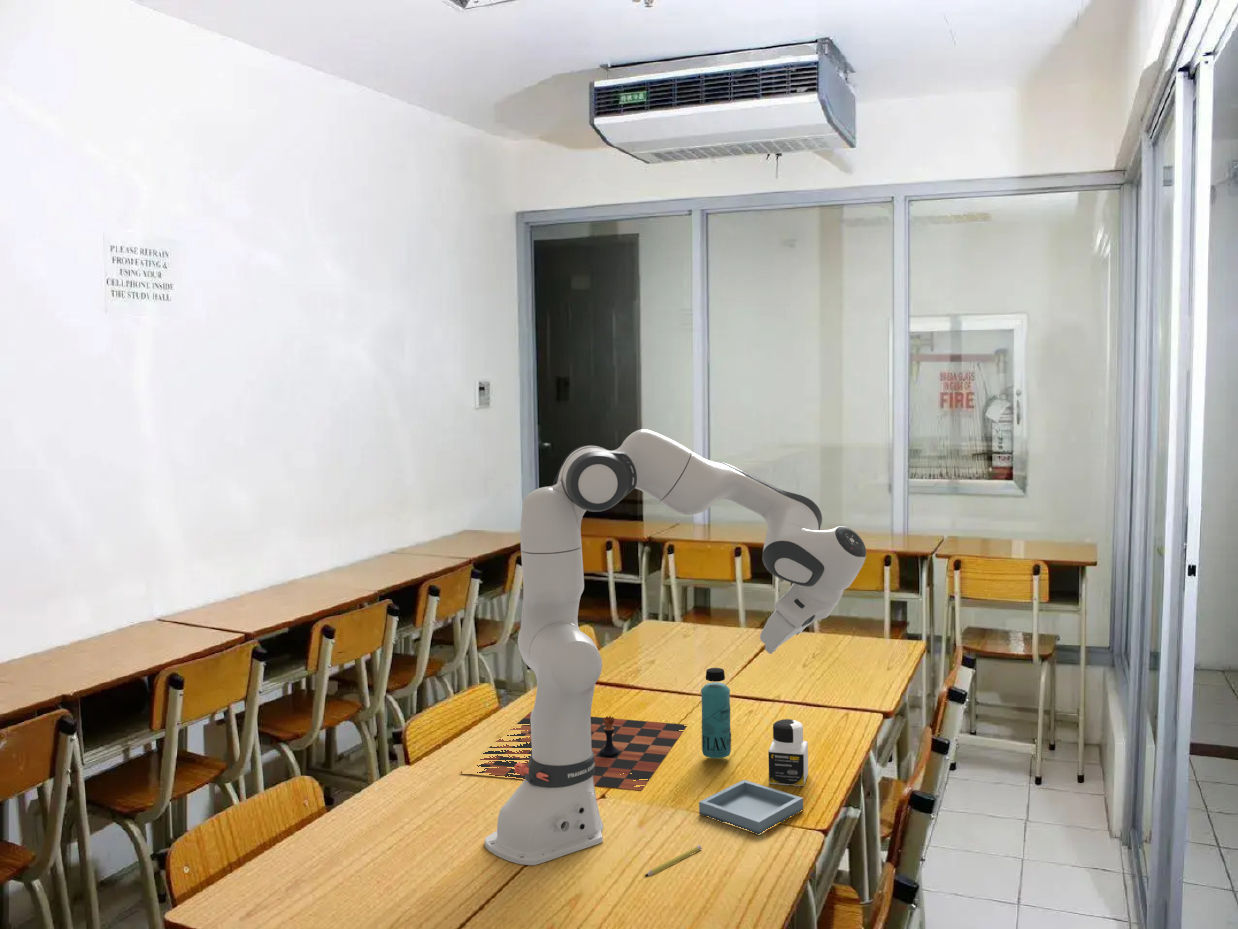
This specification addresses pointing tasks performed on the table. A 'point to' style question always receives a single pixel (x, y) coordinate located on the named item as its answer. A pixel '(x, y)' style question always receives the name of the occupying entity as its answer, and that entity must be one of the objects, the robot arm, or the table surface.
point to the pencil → (672, 861)
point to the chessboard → (607, 750)
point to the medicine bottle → (788, 754)
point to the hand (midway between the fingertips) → (782, 640)
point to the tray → (751, 806)
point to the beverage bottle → (716, 716)
